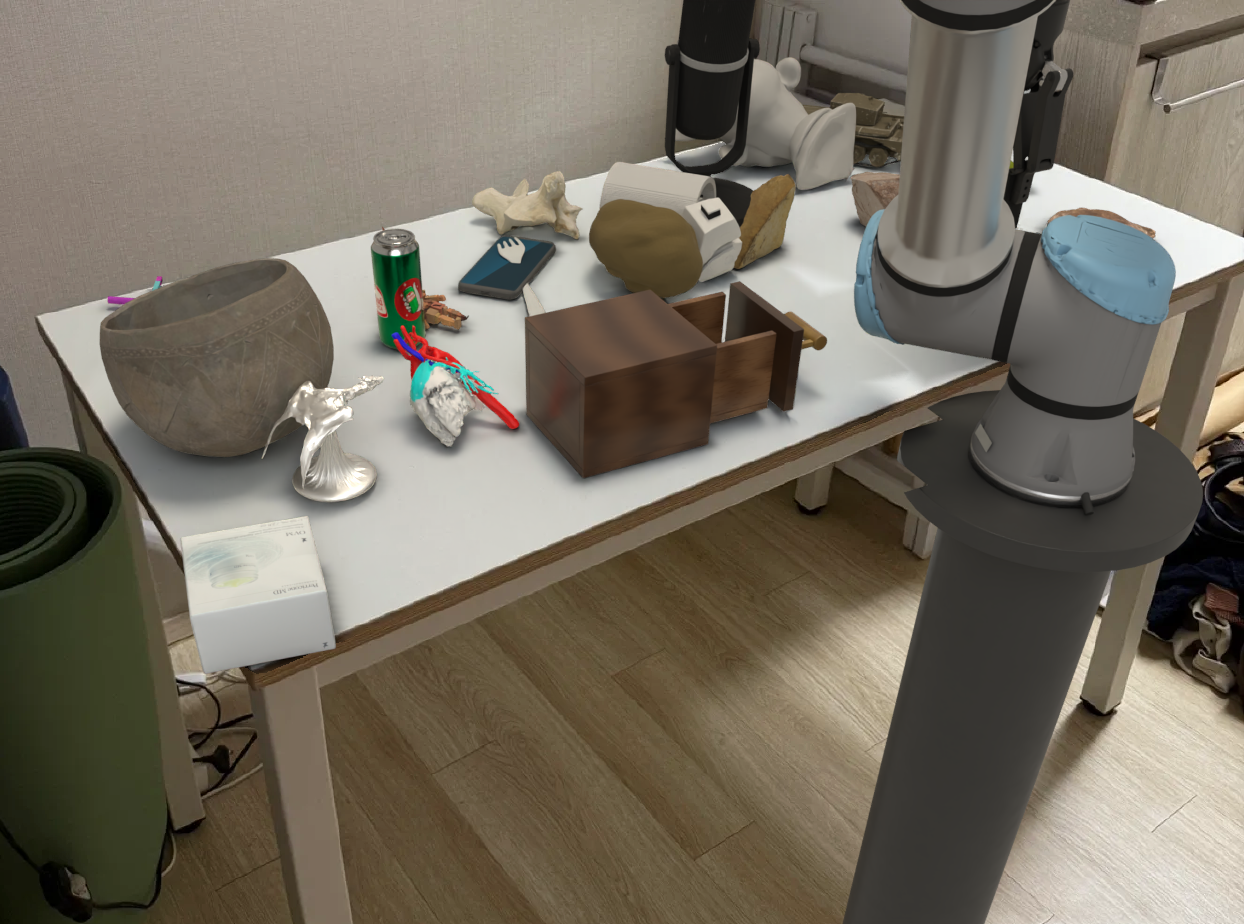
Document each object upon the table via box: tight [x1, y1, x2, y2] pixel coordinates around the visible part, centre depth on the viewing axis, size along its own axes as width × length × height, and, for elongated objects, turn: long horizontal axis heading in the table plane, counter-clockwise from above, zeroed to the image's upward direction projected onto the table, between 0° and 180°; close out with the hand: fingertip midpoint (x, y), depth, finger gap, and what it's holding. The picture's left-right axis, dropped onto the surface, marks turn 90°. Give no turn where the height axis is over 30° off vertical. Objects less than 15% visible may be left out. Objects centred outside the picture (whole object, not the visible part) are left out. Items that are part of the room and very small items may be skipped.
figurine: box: [261, 375, 385, 503], centre depth 116 cm, size 8×12×10 cm, turn 134°
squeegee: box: [107, 275, 164, 306], centre depth 144 cm, size 15×1×5 cm
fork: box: [497, 237, 547, 317], centre depth 151 cm, size 3×24×2 cm, turn 12°
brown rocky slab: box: [1046, 206, 1156, 239], centre depth 161 cm, size 12×13×4 cm
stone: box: [850, 171, 900, 227], centre depth 162 cm, size 15×9×10 cm
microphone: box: [664, 0, 761, 227], centre depth 159 cm, size 16×16×30 cm
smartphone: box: [457, 234, 557, 300], centre depth 153 cm, size 8×15×1 cm, turn 161°
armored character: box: [381, 226, 470, 331], centre depth 140 cm, size 12×6×10 cm
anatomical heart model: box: [392, 326, 520, 448], centre depth 124 cm, size 13×8×15 cm
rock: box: [733, 173, 797, 270], centre depth 156 cm, size 11×9×10 cm
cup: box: [599, 161, 716, 216], centre depth 157 cm, size 9×9×12 cm
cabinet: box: [524, 290, 717, 479], centre depth 123 cm, size 14×13×11 cm
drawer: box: [667, 280, 828, 424], centre depth 128 cm, size 18×12×9 cm, turn 116°
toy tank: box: [802, 75, 904, 169], centre depth 182 cm, size 10×23×10 cm, turn 65°
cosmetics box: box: [180, 515, 337, 675], centre depth 102 cm, size 10×6×10 cm
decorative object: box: [471, 170, 584, 241], centre depth 160 cm, size 13×13×10 cm
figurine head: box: [675, 56, 856, 191], centre depth 175 cm, size 18×14×25 cm
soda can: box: [370, 228, 427, 350], centre depth 136 cm, size 5×5×12 cm
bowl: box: [99, 257, 335, 458], centre depth 120 cm, size 21×21×15 cm
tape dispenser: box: [682, 198, 742, 283], centre depth 150 cm, size 6×7×10 cm
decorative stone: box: [588, 199, 703, 299], centre depth 147 cm, size 17×11×10 cm
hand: (981, 216), depth 139 cm, fingers closed on tennis ball, 7 cm apart
